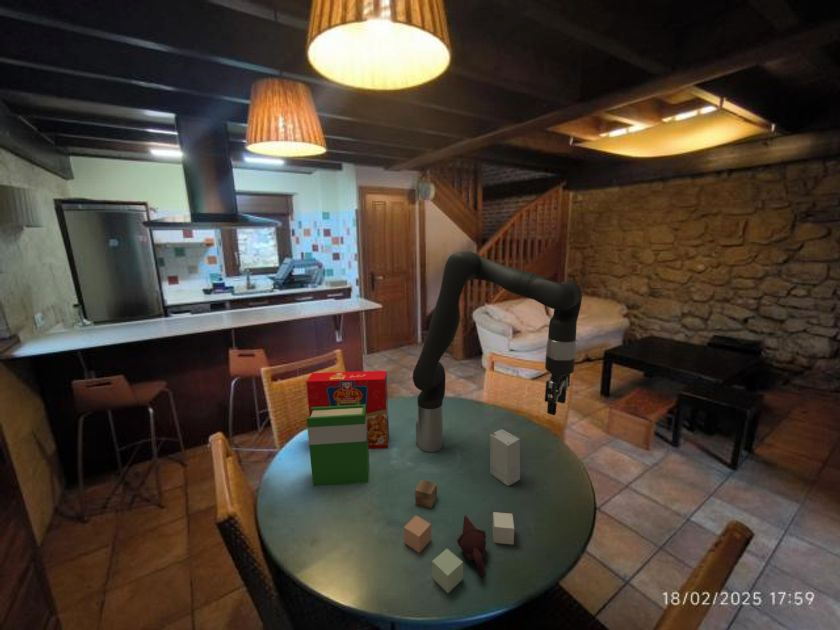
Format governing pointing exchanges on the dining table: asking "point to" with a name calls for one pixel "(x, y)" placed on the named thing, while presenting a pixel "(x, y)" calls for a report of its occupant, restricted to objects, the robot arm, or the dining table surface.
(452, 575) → the sage cube
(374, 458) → the dining table surface
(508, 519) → the cream cube
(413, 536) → the terracotta cube
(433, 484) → the walnut cube
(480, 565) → the icecream
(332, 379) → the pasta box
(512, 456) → the skincare box
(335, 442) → the hardback book
